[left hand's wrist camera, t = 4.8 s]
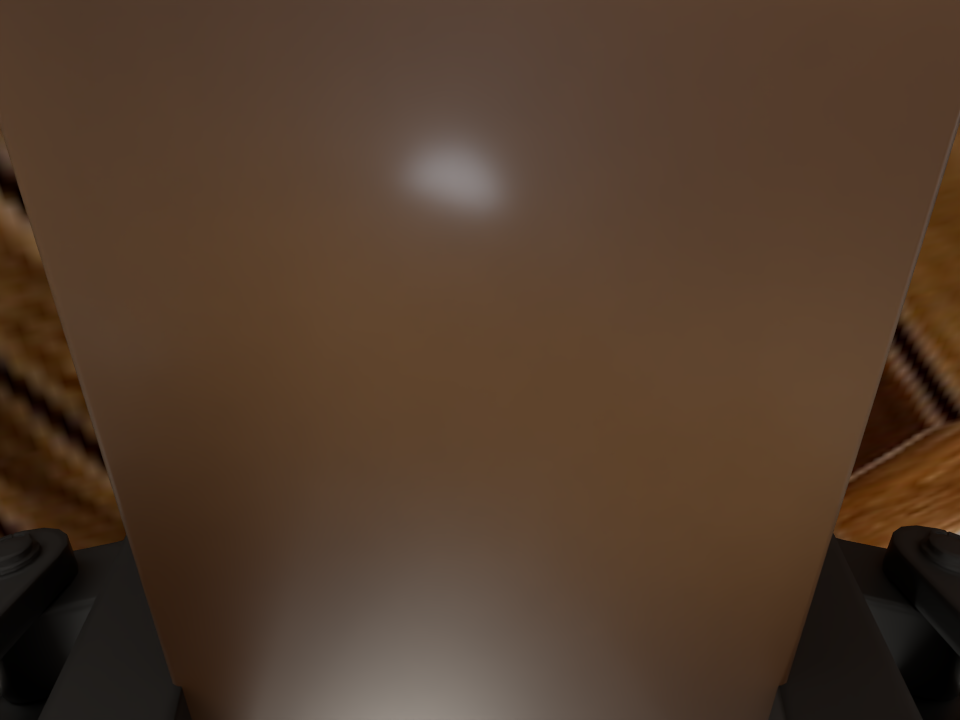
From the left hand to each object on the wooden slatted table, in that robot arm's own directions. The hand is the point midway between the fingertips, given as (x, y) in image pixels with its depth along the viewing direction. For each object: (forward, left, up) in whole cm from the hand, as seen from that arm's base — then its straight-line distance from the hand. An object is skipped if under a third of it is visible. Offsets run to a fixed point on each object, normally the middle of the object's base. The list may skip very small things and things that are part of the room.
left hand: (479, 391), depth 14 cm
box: (-5, +5, -3) cm, 8 cm away
